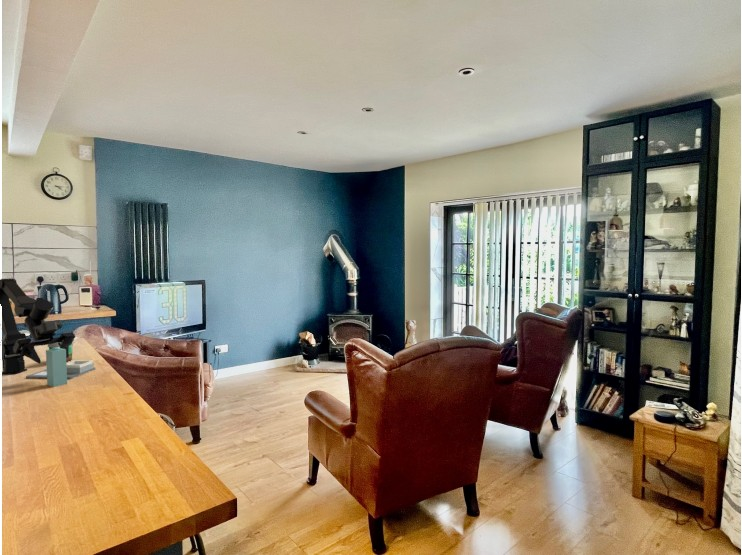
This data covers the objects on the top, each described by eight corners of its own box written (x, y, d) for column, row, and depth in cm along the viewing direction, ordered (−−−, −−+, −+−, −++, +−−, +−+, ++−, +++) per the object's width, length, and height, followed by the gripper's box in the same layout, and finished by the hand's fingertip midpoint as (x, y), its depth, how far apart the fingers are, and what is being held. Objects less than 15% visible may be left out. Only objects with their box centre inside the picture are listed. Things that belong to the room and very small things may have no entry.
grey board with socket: (25, 378, 170) (25, 368, 170) (53, 368, 184) (53, 359, 184) (71, 378, 169) (70, 368, 169) (95, 369, 183) (94, 359, 183)
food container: (62, 365, 190) (61, 342, 189) (48, 365, 190) (47, 342, 189) (81, 358, 202) (80, 336, 202) (68, 358, 202) (67, 336, 202)
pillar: (47, 385, 161) (45, 348, 161) (60, 382, 165) (59, 345, 164) (53, 387, 159) (52, 349, 158) (67, 383, 163) (65, 347, 162)
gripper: (15, 317, 156) (31, 351, 151) (71, 311, 172) (88, 341, 167) (5, 337, 160) (21, 370, 155) (62, 329, 177) (78, 359, 172)
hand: (54, 359), depth 162 cm, fingers open, 9 cm apart
